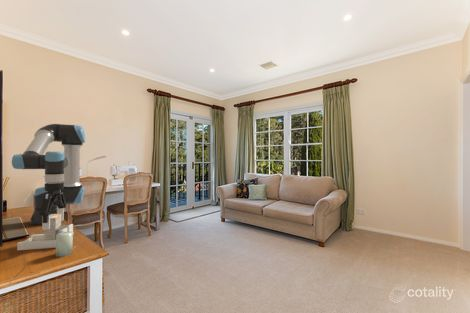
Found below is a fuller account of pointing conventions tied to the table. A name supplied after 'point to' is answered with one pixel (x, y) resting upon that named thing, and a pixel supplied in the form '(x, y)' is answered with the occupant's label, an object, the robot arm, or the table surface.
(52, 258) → the table surface
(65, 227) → the pusher
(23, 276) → the table surface
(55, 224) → the supplement box
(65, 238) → the sage jar
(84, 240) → the table surface
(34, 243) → the white open tray
